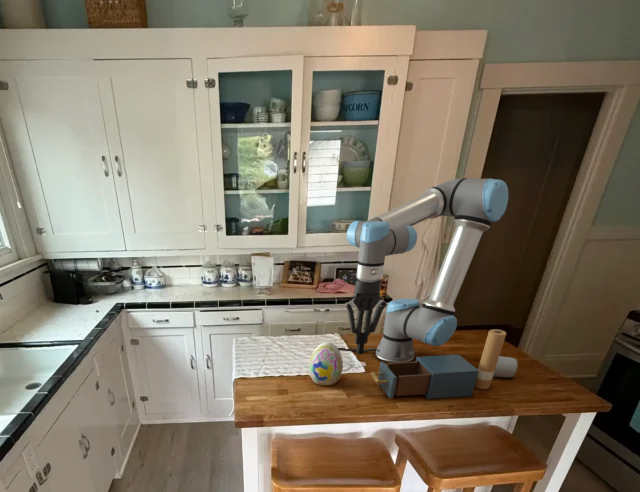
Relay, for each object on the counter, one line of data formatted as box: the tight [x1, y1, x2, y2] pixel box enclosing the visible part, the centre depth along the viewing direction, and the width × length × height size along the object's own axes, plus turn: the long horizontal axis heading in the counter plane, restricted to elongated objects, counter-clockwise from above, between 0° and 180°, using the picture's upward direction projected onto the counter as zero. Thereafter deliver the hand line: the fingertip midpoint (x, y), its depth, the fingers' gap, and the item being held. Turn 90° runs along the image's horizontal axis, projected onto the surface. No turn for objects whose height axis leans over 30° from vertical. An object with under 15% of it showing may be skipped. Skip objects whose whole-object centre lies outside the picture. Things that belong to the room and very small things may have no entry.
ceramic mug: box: [493, 355, 519, 378], centre depth 157 cm, size 11×8×8 cm
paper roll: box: [474, 328, 507, 390], centre depth 146 cm, size 5×5×20 cm
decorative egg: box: [308, 341, 344, 387], centre depth 154 cm, size 12×12×15 cm
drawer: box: [369, 360, 432, 399], centre depth 147 cm, size 19×12×8 cm, turn 95°
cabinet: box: [415, 354, 479, 400], centre depth 148 cm, size 16×14×10 cm
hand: (359, 352), depth 140 cm, fingers closed
